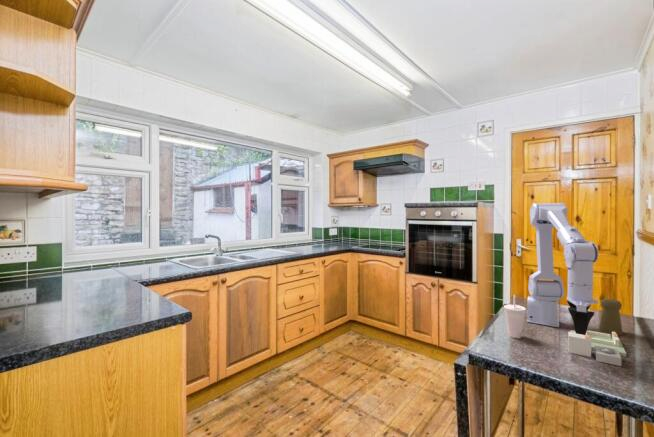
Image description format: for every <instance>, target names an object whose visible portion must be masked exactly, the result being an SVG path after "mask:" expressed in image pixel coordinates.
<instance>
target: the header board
mask: <svg viewBox="0 0 654 437" xmlns="http://www.w3.org/2000/svg"><path fill="white" fill-rule="evenodd" d="M569 332H574V333H576V332H575V330H574V329H573V330H572V329H570V330H569ZM586 334H588V335H590V337H591V351H593V352H594V345H596V346H601V347H607V348H612V349H617V350H618V352H619V354H620V356H621V357H625V358H627V351H626V350H625V347H624V346H623V344H622V341H621V340H620V338H619V335H617V334H616V332H612V334H608V333H604V332H601V331H600V332H599V331H593V330H588V329H587V332H586Z"/></svg>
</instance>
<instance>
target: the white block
mask: <svg viewBox="0 0 654 437" xmlns="http://www.w3.org/2000/svg"><path fill="white" fill-rule="evenodd" d="M567 334H568V336H567V338H568V339H567V343H568V344H567V349H568V353H570V354H574V355H579V356H584V357H588V358H592V350H591V337H590V335H588V334H585V335H582V334H576V333H574V332H570V330H569V331H567Z"/></svg>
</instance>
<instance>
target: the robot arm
mask: <svg viewBox="0 0 654 437" xmlns="http://www.w3.org/2000/svg"><path fill="white" fill-rule="evenodd" d="M567 216H568V206H567V205H566V204H565V203H564V202H557V203H556V202H554V203H553V202H549V203H548V202H546V203H545V202H544V203H538V202H537V203H536V202H533V203H532V205H531V206H530V209H529V221H530V226H533V227H534V228H535V234H536V236H535V239H536V260H537V262H536V263H537V271H535V272H533V273H532V274H531V275H529V278H528V283H527V285H528V287H527V288H528V292H529V295H530V296H529V295H528V296H527V300H526V302H527V305H526V307H527V308H526V318H527V319H526V322H527V323H532V324H537V325H541V326H542V325H544V326H548V327H554V328H560V320H559V317H558V316H559V313H558V312H559V301H560V300H561V299H562V298H563V297H564V296H565V287H564V283H563V282H564V281H563V278H562V277H561V276H560V275H559V274H557V273H555V271H554V270H555V269H554V267H555V266H554V250H553V228H555V229H556V231H557V232H556V237H557V239H558V240H559V242H560V244H561V246H562V248H563V256H564V260H565V266H566V267H567V296H566V302H567V303H568V304H567V305H568V307H567V310H568V312H569V314H570V315H571V319H572V321H573V327H574V331H575V332H576V334H582V335H585V334H586V332H587V330H588V328H589V324H590V321H591V320H592V318H593V317H594V316H595V312H594V311H590V310H589V309H590V307H591V306H592V305H593V304H596V305H597V304H599V300H598V299H594V293H593V292H594V263H596V262H597V260H598V258H599V249H598V247H597V245H596V243H595V242H592V241H590V240H586V238H585V237H584V236H583V234H582V233H581V231H580V230H579V229H578V228H577V227H576V226H573V225H571V223H570V221H569V220H568V218H567Z"/></svg>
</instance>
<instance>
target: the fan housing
mask: <svg viewBox="0 0 654 437" xmlns="http://www.w3.org/2000/svg"><path fill="white" fill-rule="evenodd" d="M593 353H594V357H595V361H596V362H598V363H599V362H600V363H604V364H609V365H613V366H619V367H622V356H620V354H619V352H618V350H617V349H612V348H607V347H601V346H596V345H594V351H593Z"/></svg>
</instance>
